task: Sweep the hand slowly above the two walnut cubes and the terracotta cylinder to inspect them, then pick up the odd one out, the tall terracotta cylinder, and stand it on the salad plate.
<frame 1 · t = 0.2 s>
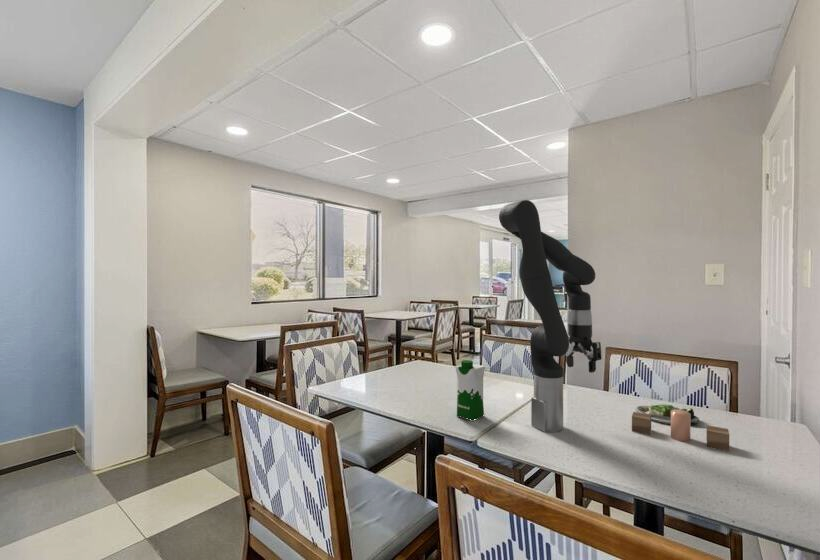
hand: (581, 369, 134), 18 cm above the table, tool pointing down, fingers open, 8 cm apart
salad plate: (668, 418, 138), on the table
terracotta cylinder: (680, 438, 120), on the table
back walnut cube: (641, 430, 126), on the table
front walnut cube: (717, 446, 114), on the table
milk carton: (470, 416, 139), on the table
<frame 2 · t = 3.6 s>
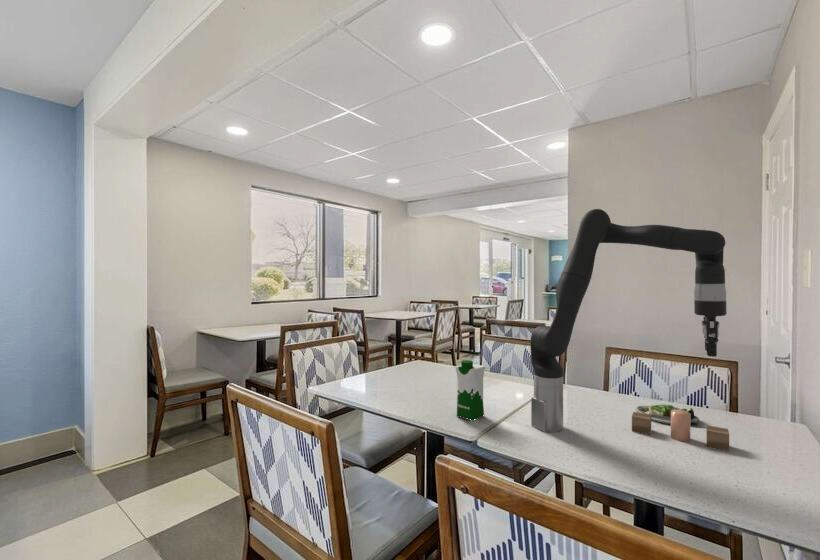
hand: (710, 353, 115), 27 cm above the table, tool pointing down, fingers open, 8 cm apart
nothing on the table moved.
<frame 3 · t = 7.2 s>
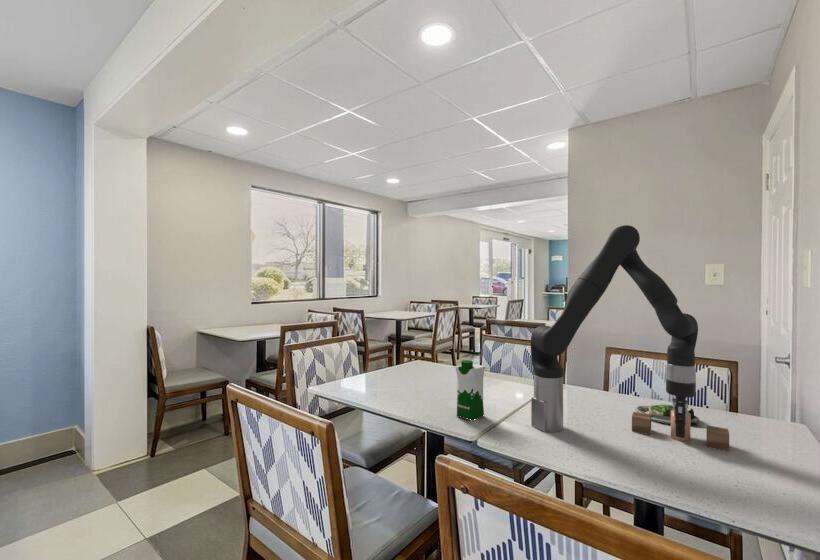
hand: (680, 433, 119), 1 cm above the table, tool pointing down, fingers closed on terracotta cylinder, 5 cm apart
terracotta cylinder: (680, 438, 120), on the table, touching gripper
everything else where it was.
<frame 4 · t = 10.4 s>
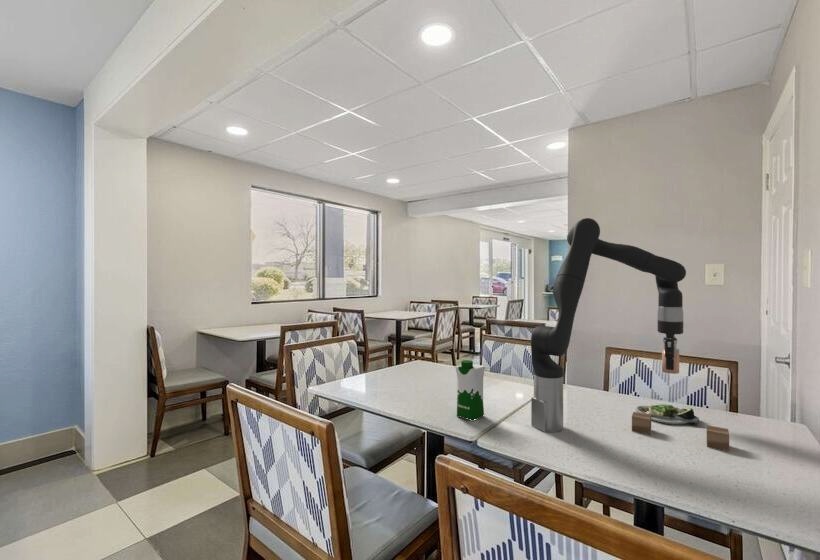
hand: (670, 367, 136), 18 cm above the table, tool pointing down, fingers closed on terracotta cylinder, 5 cm apart
terracotta cylinder: (670, 371, 136), point 16 cm above the table, touching gripper
everything else where it was.
when the fingers open (6 cm above the table, at t = 13.6 s): terracotta cylinder stays where it is, resting on salad plate.
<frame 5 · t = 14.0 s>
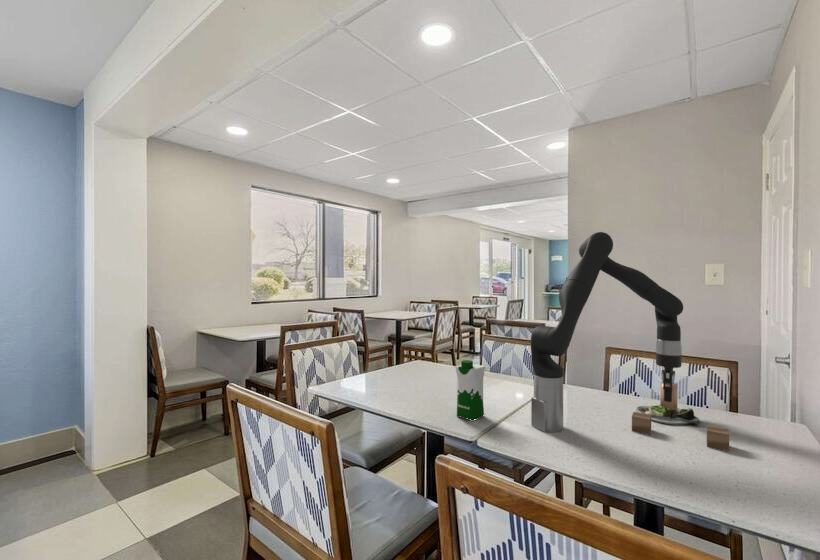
hand: (668, 398, 137), 7 cm above the table, tool pointing down, fingers open, 8 cm apart
salad plate: (668, 418, 138), on the table, touching terracotta cylinder
terracotta cylinder: (668, 406, 137), point 4 cm above the table, touching salad plate
everything else where it was.
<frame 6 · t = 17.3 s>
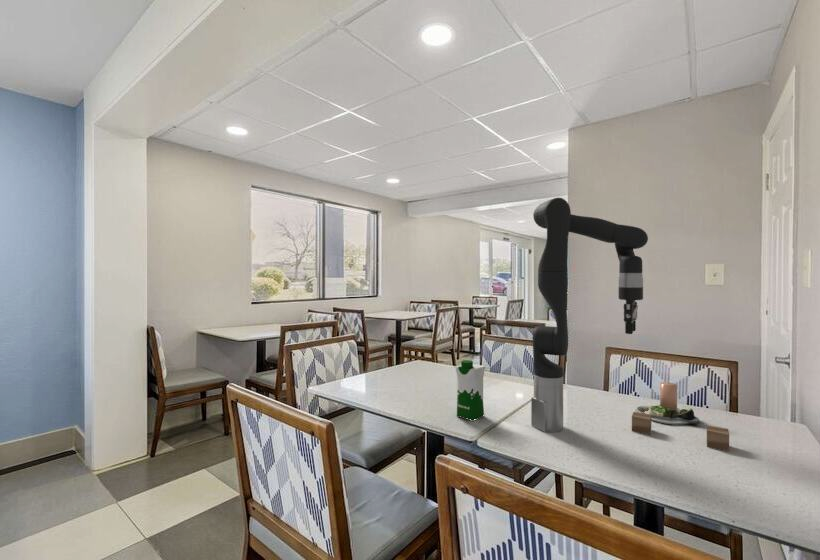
hand: (630, 332, 136), 30 cm above the table, tool pointing down, fingers open, 8 cm apart
nothing on the table moved.
at the end: terracotta cylinder inside the target area in the salad plate (0.0 cm from its centre), point 4.4 cm above the salad plate's base; terracotta cylinder tilted 0°; front walnut cube moved 0.1 cm from its start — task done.
